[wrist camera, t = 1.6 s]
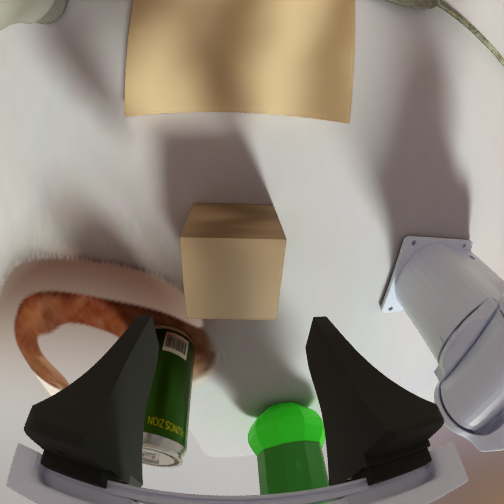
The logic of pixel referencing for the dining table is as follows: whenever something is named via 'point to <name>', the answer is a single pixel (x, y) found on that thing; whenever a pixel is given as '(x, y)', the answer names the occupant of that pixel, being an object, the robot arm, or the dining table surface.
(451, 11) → the soupspoon
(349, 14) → the oak board
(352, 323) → the dining table surface
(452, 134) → the dining table surface
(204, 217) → the tan cube
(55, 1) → the lightbulb
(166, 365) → the beer can
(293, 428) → the plastic bottle
